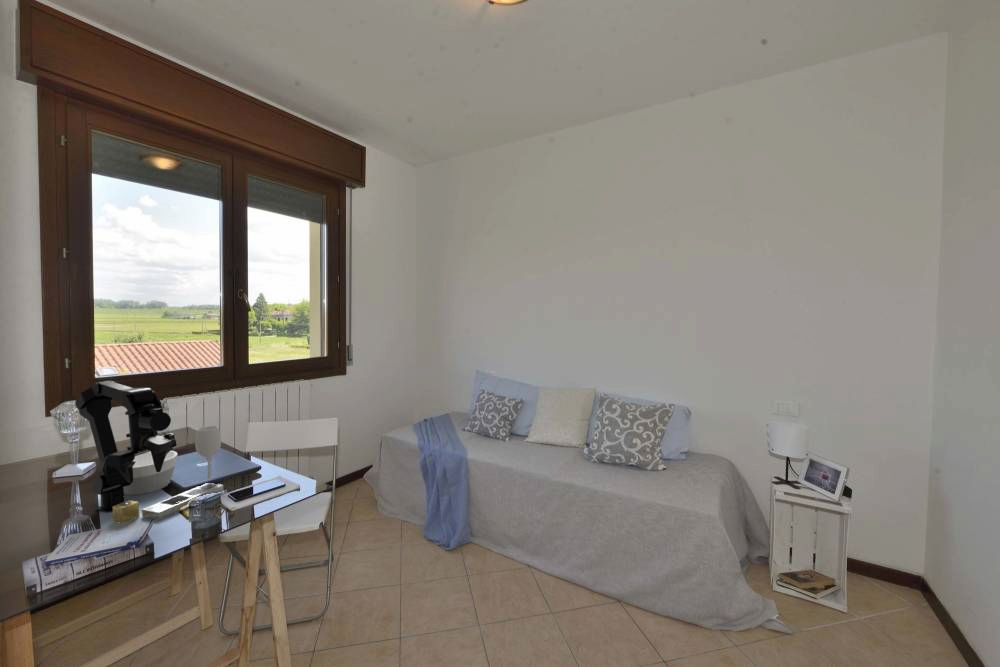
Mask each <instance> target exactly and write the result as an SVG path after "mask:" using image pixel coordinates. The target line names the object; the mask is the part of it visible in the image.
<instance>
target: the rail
mask: <svg viewBox="0 0 1000 667" xmlns="http://www.w3.org/2000/svg"><path fill="white" fill-rule="evenodd" d="M222 491H224V484H220V483H218V484H214V483H205V484H203V485H201V486H196V487H194V488H191V489H189V490H186V491H183V492H181V493H179V494H176V495H174V496H171V497H169V498H167V499H166V498H165V499H164V500H162V501H159V502H157V503H154V504H152V505H149V506H147V507H145V508H142V509H141V514H142V518H144V519H145V518H146V519H151V520H156V521H161V520H163V519H166V518H167V517H170V516H172V515H174V514H178V513H179V512H180V511H179V509H180V508H181V507H183V506H185V505H187V504H188V502H189V501H190V500H191V499H193V498H196V497H199V496H203V495H206V494H211V493H218V492H222ZM222 493H223V492H222ZM182 500H184V501H183V502H179V503H177V504H175V503H176V502H178V501H182Z"/></svg>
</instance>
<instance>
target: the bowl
mask: <svg viewBox="0 0 1000 667" xmlns="http://www.w3.org/2000/svg"><path fill="white" fill-rule="evenodd" d="M177 458H178V452H177V451H174V450H171V451H170V452H168V453H167V455H166V457H165V459H164V462H163V465H162V468H161V471H160V472H156V469H155V466H154V462H153V458H152V455H151V451H149V452H146V453H144V454H141V455H138V456H135V459H134V460H133V461H132V462H135V464H134V465H133V483H131V485H129V486H125V487H123V488H124V495H127V496H133V495H134V496H135V495H142V494H143V495H144V494H148V492H149V493H153V492H155V491H159V490H162V489H164V488H165V487H168V486H169V485H170V484H171V482H170V480H171V481H172V478H171V477H173V474H174V470H175V465H176V461H177ZM169 483H170V484H169ZM168 484H169V485H168ZM152 491H153V492H152Z"/></svg>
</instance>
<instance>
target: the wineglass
mask: <svg viewBox="0 0 1000 667" xmlns="http://www.w3.org/2000/svg"><path fill="white" fill-rule="evenodd" d="M195 432H196V433H195V439H194V446H195V451H196V452H197V453H198V455H200V456H202V457H204V458H206V460H207V477H206V478H207V479H210V478H213V477H214V476H213V474H212V458H213V457H214V456H215V455H216V454H218V452H219V450H220V449H221V446H222V437H221V431H220V429H219V426H217V425H207V426H201V427H199V428H197V429H196V431H195Z"/></svg>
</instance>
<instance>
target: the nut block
mask: <svg viewBox="0 0 1000 667" xmlns="http://www.w3.org/2000/svg"><path fill="white" fill-rule="evenodd" d="M138 517H139V518H140V503H139V501H135V500H130V499H129V500H125V502H123V503H120V504H117V505H115V506H113V510H112V520H113V521H115V522H114V523H117V522H120V523H119V524H122V523H124V524H126V523H125V522H127V523H129V522H131V521H133V520H132V519H134V520H136V519H139V518H138ZM135 518H136V519H135ZM130 520H131V521H130ZM128 521H129V522H128Z"/></svg>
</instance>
